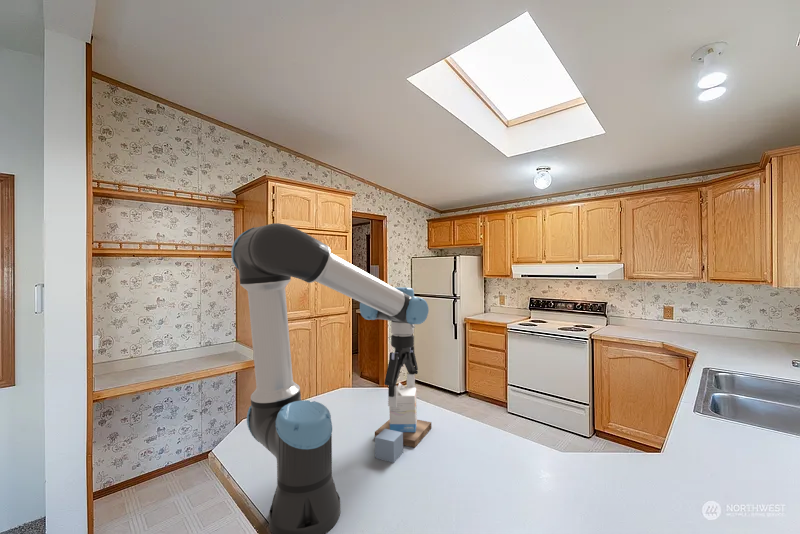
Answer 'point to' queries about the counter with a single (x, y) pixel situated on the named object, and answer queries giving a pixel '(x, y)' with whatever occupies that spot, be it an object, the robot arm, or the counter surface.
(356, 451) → the counter surface
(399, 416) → the ink box
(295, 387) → the robot arm
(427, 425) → the board
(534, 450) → the counter surface
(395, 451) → the cube
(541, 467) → the counter surface
